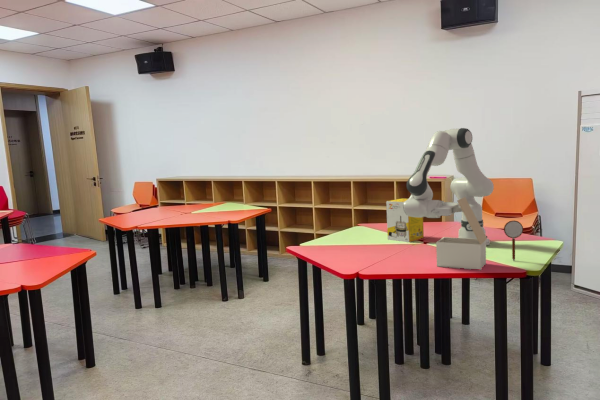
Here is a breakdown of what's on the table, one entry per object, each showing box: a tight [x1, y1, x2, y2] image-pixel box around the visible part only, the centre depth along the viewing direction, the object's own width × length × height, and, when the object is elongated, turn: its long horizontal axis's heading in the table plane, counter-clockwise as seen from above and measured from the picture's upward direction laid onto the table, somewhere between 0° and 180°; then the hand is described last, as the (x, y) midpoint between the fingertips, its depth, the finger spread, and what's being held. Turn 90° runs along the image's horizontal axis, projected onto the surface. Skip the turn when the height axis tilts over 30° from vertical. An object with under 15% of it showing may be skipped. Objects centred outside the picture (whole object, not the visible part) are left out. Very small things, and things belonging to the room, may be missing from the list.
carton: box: [435, 236, 487, 271], centre depth 214 cm, size 13×20×12 cm, turn 57°
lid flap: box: [456, 197, 488, 245], centre depth 209 cm, size 14×22×1 cm
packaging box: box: [385, 198, 425, 243], centre depth 284 cm, size 16×16×25 cm
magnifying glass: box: [503, 220, 524, 262], centre depth 215 cm, size 9×2×20 cm, turn 77°
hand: (465, 209), depth 211 cm, fingers closed
